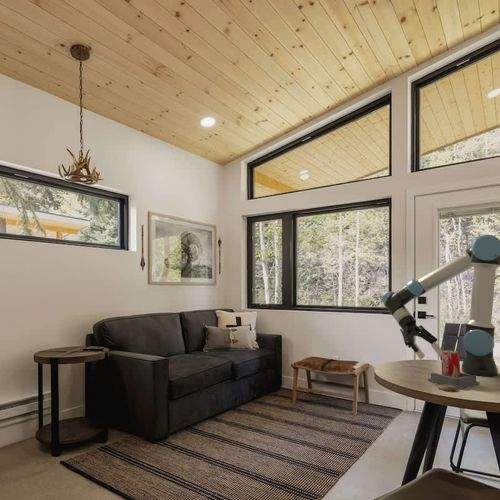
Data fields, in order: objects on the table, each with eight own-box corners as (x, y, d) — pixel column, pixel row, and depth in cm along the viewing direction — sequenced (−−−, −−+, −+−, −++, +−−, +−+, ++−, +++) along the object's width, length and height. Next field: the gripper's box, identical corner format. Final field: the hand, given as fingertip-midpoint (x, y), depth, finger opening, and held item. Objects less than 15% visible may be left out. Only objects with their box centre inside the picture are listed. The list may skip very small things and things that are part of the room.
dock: (448, 377, 180) (448, 369, 180) (479, 385, 167) (479, 376, 168) (428, 381, 173) (427, 372, 173) (458, 389, 161) (458, 379, 161)
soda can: (460, 382, 166) (459, 353, 167) (442, 380, 169) (441, 351, 170) (459, 378, 173) (459, 350, 174) (441, 377, 176) (441, 349, 177)
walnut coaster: (445, 386, 165) (445, 383, 165) (461, 390, 159) (461, 387, 159) (434, 388, 162) (434, 385, 162) (449, 392, 156) (449, 389, 156)
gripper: (417, 323, 202) (444, 358, 188) (382, 325, 189) (409, 363, 175) (426, 313, 197) (455, 349, 183) (391, 314, 185) (419, 353, 171)
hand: (432, 356), depth 179 cm, fingers open, 13 cm apart
